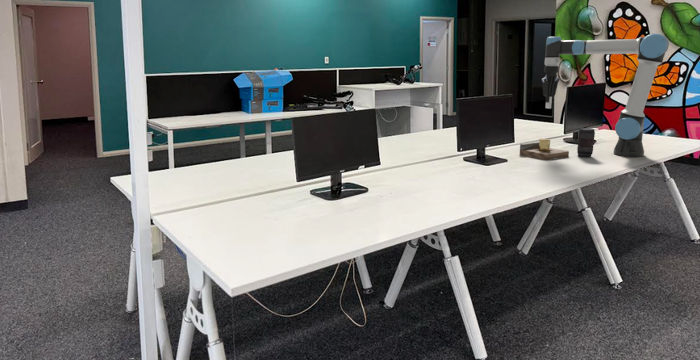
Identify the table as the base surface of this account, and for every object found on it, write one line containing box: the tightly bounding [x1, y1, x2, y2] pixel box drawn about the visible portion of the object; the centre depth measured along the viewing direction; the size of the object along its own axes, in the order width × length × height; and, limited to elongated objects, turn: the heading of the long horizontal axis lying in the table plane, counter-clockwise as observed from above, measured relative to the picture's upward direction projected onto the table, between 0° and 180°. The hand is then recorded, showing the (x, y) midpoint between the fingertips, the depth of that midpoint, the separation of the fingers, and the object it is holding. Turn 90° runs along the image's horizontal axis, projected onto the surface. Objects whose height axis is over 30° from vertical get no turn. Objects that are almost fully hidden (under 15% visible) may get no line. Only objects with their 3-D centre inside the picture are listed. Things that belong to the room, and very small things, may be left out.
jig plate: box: [519, 141, 570, 161], centre depth 304 cm, size 18×18×6 cm
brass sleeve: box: [538, 138, 551, 152], centre depth 304 cm, size 6×6×9 cm
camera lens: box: [576, 127, 596, 159], centre depth 301 cm, size 8×8×15 cm
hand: (548, 108), depth 314 cm, fingers closed
